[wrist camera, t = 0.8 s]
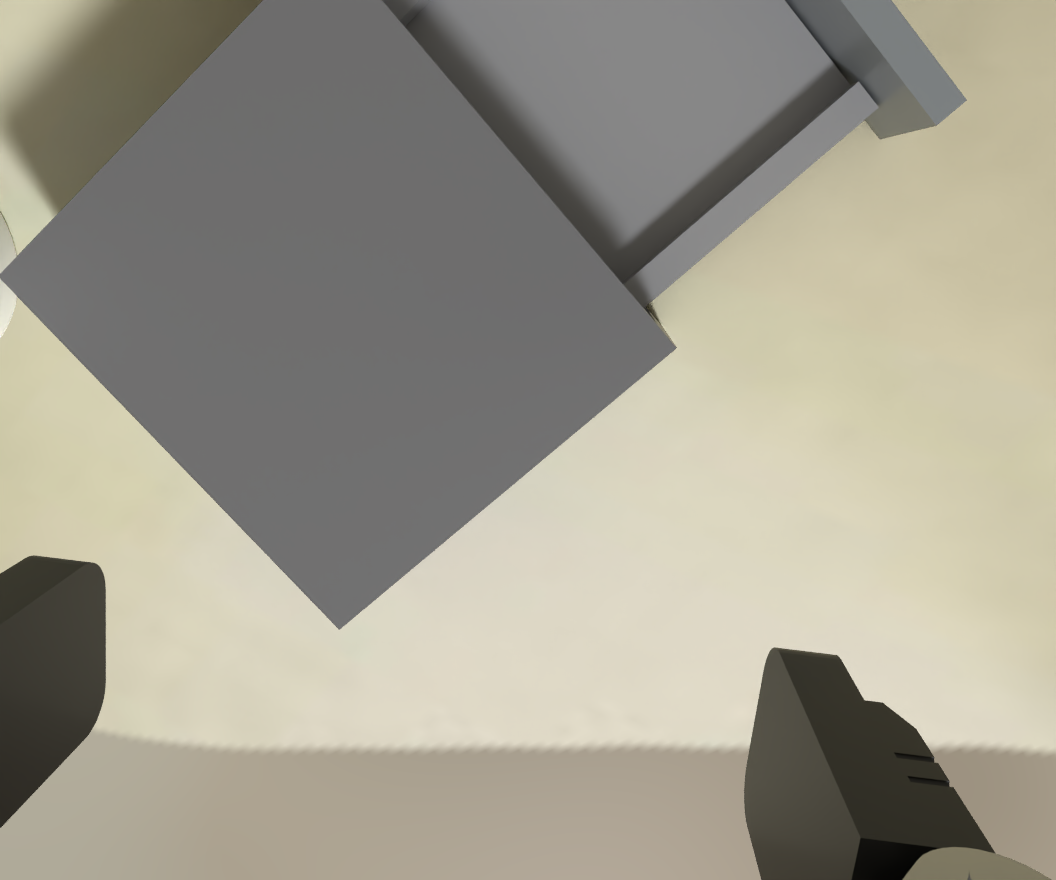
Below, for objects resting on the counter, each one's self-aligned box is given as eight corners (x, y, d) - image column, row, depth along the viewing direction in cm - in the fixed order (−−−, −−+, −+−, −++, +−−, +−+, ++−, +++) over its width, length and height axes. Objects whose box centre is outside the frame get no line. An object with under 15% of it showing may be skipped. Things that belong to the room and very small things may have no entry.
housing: (370, -19, 31) (326, -66, 26) (662, 325, 33) (676, 348, 28) (89, 266, 34) (-3, 276, 29) (375, 568, 36) (339, 629, 31)
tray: (612, -263, 29) (618, -361, 24) (904, 118, 31) (967, 100, 26) (289, 65, 32) (234, 37, 27) (577, 394, 34) (576, 426, 29)
